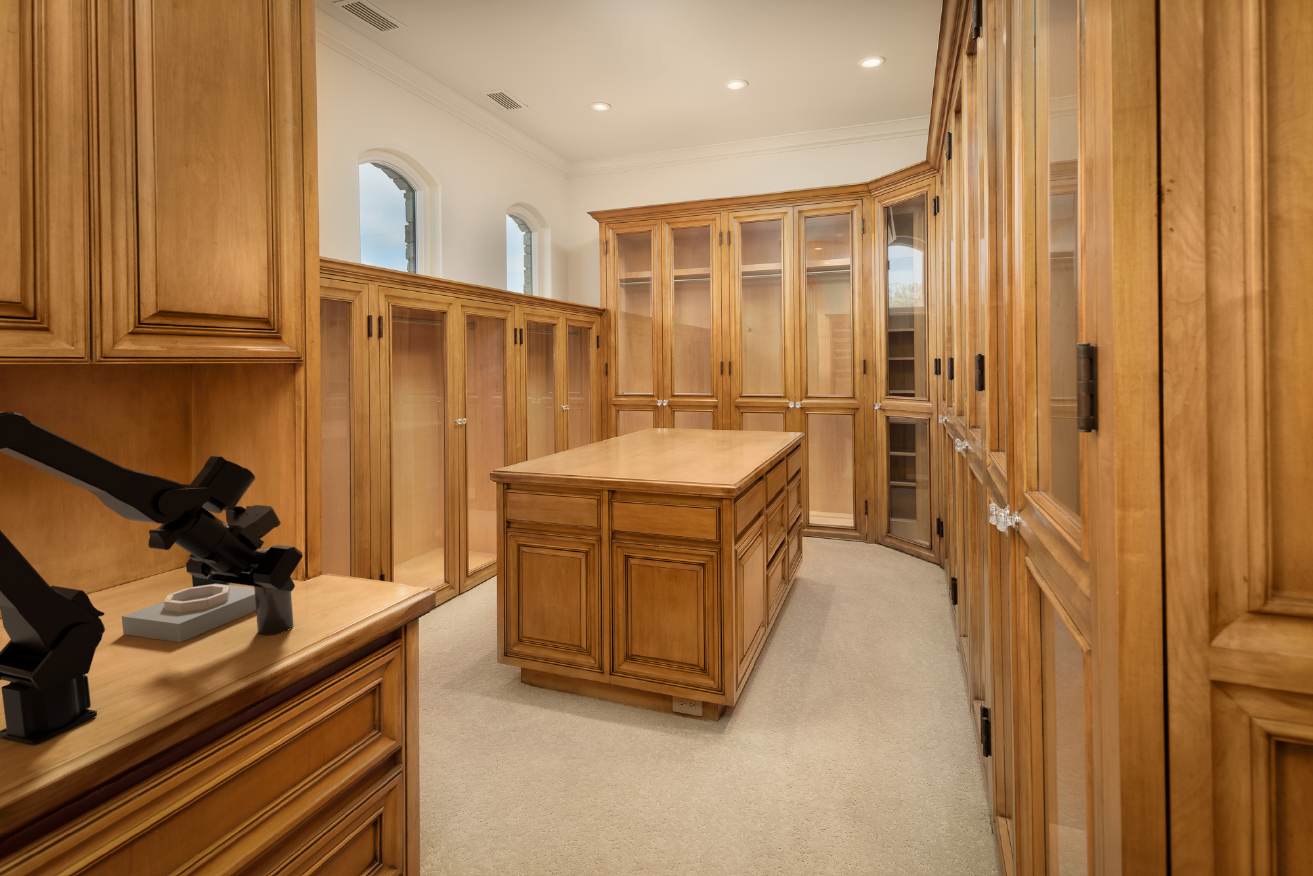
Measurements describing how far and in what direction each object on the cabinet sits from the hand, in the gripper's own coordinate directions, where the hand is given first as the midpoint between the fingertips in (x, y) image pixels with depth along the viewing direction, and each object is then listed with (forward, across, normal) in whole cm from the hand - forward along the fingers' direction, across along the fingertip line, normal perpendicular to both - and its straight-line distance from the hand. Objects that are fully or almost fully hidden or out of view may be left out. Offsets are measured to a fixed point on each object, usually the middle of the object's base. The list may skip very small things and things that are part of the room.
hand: (280, 586), depth 104 cm
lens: (+4, 0, +6) cm, 7 cm away
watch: (+12, +31, -3) cm, 33 cm away
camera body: (+3, +16, +6) cm, 17 cm away
